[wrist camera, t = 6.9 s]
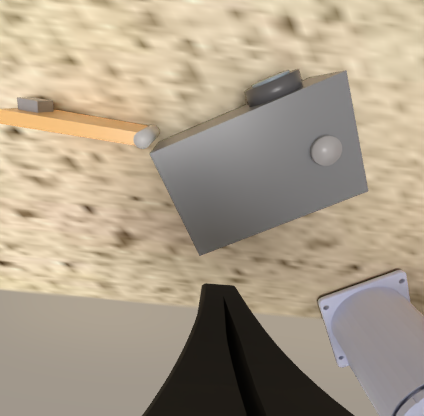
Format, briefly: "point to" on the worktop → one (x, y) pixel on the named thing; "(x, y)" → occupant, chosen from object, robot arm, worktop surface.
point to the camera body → (265, 159)
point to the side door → (76, 123)
